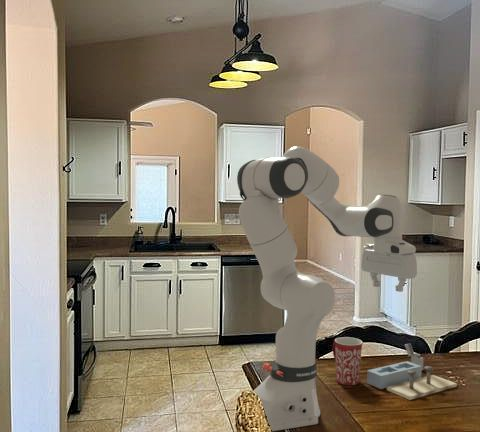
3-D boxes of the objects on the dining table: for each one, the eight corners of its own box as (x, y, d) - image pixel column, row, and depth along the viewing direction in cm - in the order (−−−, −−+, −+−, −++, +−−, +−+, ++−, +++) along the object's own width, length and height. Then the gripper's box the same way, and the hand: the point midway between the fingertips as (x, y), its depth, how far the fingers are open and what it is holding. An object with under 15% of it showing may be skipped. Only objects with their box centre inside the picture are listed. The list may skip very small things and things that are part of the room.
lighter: (423, 370, 178) (423, 347, 178) (420, 370, 177) (420, 348, 177) (407, 364, 184) (408, 342, 184) (404, 364, 183) (404, 343, 183)
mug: (367, 384, 163) (368, 343, 163) (343, 388, 160) (343, 345, 160) (346, 372, 175) (347, 333, 175) (323, 374, 172) (323, 335, 172)
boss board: (409, 400, 151) (410, 379, 151) (386, 390, 159) (387, 370, 158) (456, 386, 162) (457, 367, 162) (433, 377, 170) (433, 359, 170)
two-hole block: (380, 389, 159) (381, 375, 159) (366, 383, 165) (367, 370, 164) (421, 378, 169) (421, 366, 169) (406, 373, 174) (407, 361, 174)
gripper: (356, 243, 168) (357, 285, 169) (406, 249, 151) (406, 295, 152) (370, 242, 172) (370, 283, 172) (420, 247, 154) (420, 292, 155)
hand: (387, 288), depth 162 cm, fingers open, 8 cm apart
